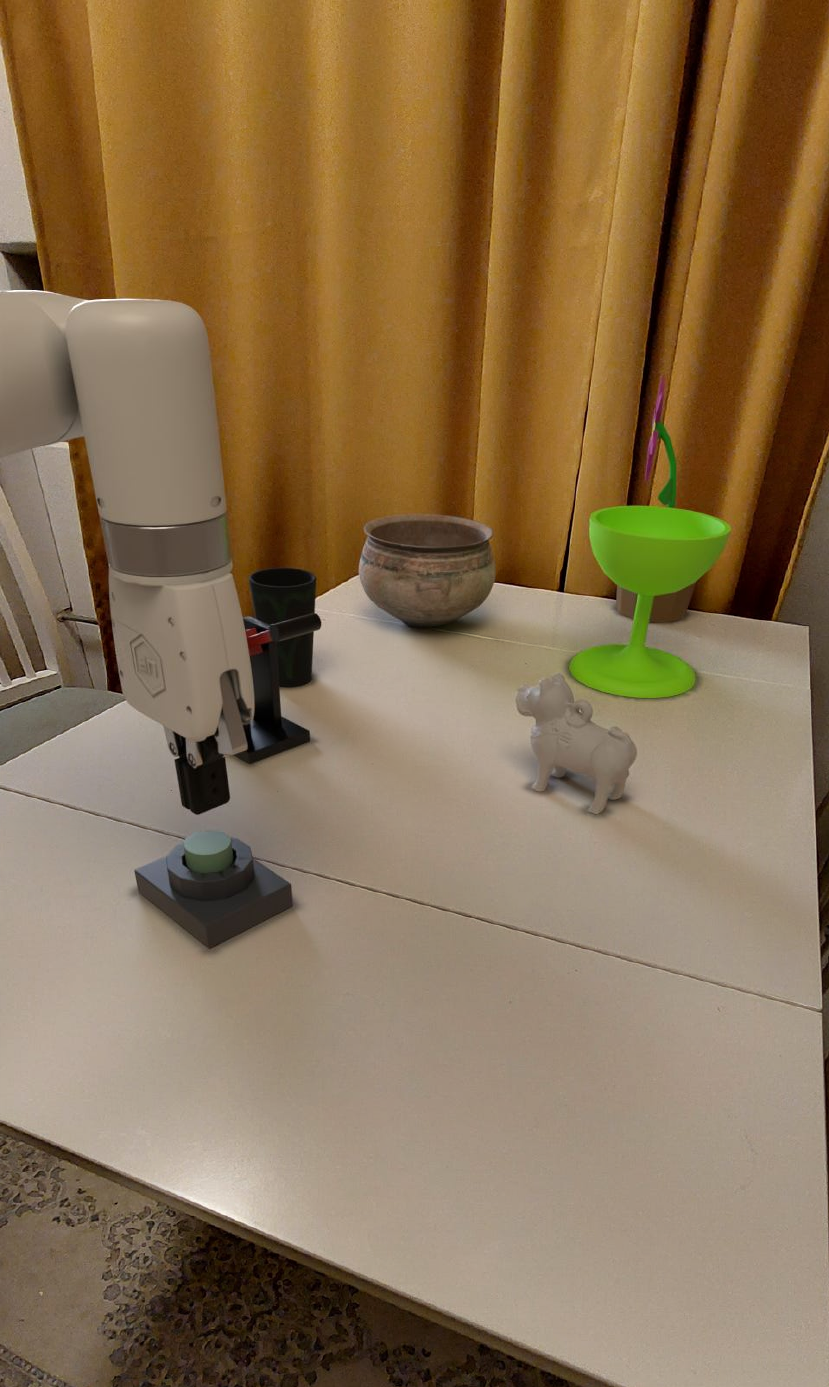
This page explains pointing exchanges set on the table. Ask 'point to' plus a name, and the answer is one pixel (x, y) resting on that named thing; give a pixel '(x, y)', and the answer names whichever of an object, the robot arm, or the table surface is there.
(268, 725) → the black lever stand
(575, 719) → the dog figurine
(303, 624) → the lever handle
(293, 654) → the cup
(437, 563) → the cooking pot
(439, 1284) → the table surface
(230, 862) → the power button
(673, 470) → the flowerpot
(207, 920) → the base
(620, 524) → the wineglass
